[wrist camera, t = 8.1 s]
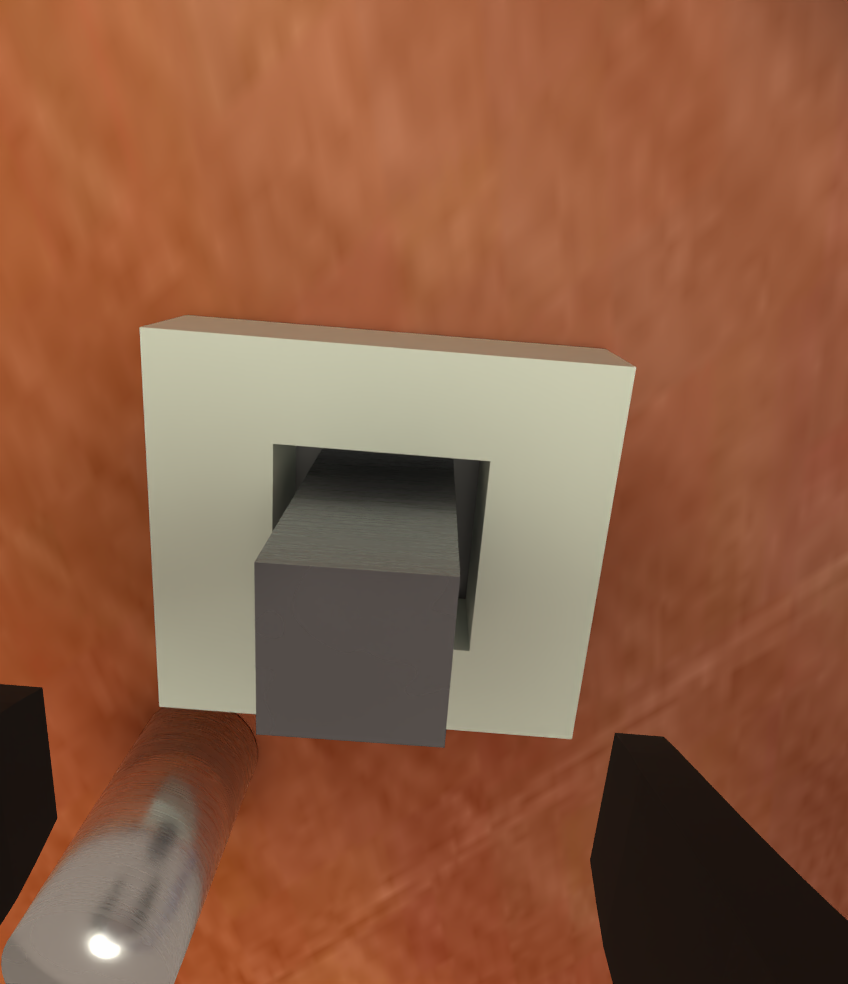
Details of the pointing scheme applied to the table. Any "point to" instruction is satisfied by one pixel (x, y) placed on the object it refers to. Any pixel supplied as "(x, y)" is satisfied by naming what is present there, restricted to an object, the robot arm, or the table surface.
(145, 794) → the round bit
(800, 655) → the table surface
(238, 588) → the bore block
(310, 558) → the square bit
